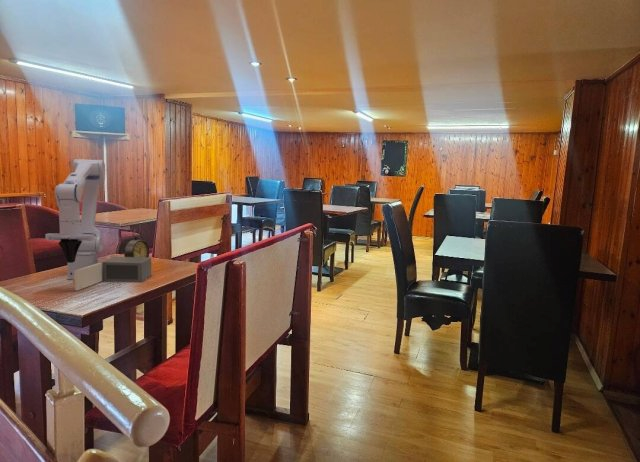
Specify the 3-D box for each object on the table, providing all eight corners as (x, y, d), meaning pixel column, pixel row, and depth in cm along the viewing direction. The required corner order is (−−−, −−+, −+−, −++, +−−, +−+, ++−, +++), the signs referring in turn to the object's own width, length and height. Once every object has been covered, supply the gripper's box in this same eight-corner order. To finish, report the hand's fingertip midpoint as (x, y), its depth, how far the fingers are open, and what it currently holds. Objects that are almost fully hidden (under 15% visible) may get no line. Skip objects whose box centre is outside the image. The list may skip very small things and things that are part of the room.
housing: (102, 281, 152) (101, 262, 151) (113, 274, 162) (113, 256, 161) (142, 282, 153) (141, 263, 152) (151, 275, 163) (151, 257, 162)
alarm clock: (134, 272, 168) (133, 231, 165) (121, 270, 169) (121, 230, 166) (150, 266, 178) (149, 228, 176) (138, 265, 179) (138, 227, 177)
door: (98, 280, 152) (98, 262, 151) (103, 280, 152) (103, 262, 151) (72, 290, 139) (71, 270, 138) (77, 290, 139) (76, 270, 138)
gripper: (39, 221, 133) (41, 264, 134) (86, 223, 134) (88, 265, 135) (51, 219, 140) (53, 259, 141) (97, 220, 141) (98, 260, 142)
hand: (71, 262), depth 139 cm, fingers closed
